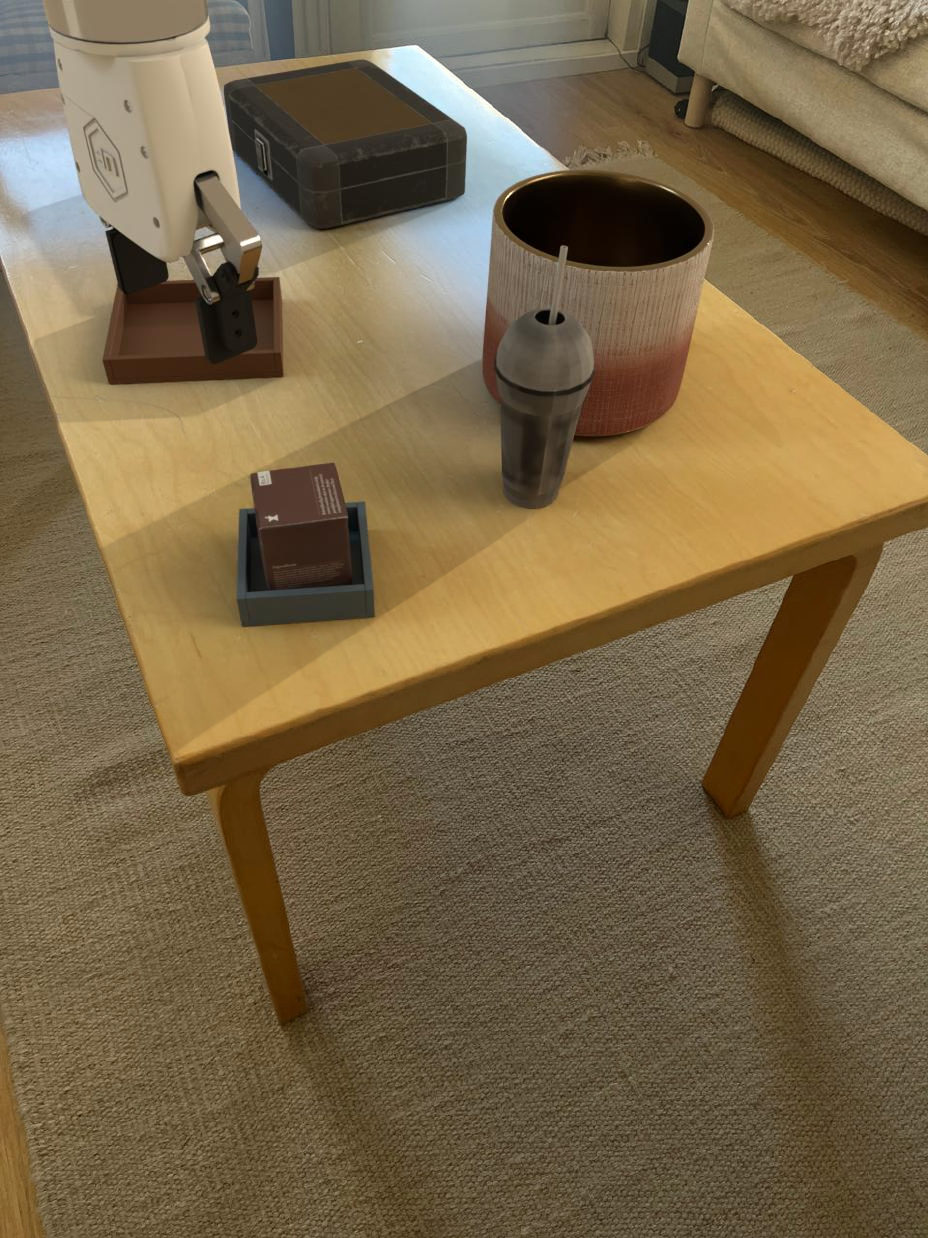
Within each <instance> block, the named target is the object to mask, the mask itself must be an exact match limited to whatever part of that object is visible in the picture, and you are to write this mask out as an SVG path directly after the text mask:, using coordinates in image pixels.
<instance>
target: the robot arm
mask: <svg viewBox="0 0 928 1238" xmlns="http://www.w3.org/2000/svg"><path fill="white" fill-rule="evenodd" d="M41 1H42V5H43V8H44V9H43V10H44V13H45V16H46V21H47V24H48V29H49V33H50V37H51V38H52V40H53V48H54V57H55V66H56V73H57V80H58V85H59V92H60V97H61V102H62V108H63V112H64V118H65V123H66V128H67V132H68V138H69V143H70V147H71V152H72V156H73V161H74V166H75V171H76V175H77V180H78V183H79V188H80V191H81V196H82V197H83V199H84V201H85V203H86V205H87V206H88V207H89V208H90V209H91V210H92V211H93V212H94V213H95V214H96V215H97V216H98V218H99V220H100V222H101V224H102V225H103V227H104V228H106V229H107V230H105V231H104V233H105V236H106V240H107V244H108V249H109V253H110V258H111V262H112V265H113V269H114V274H115V279H116V282H117V283H118V286H119V289H120V290H121V291H122V292H123V293H125V294H126V295H130V294H133V293H135V292H138V291H141V290H144V289H146V288H149V287H152V286H155V285H158V284H160V283H163V282H165V281H169V278H170V277H169V276H170V275H169V268H168V264H173V263H176V262H178V261H179V260H180V258H183V261H184V263H185V264H186V267H187V268H188V271H189V273H190V274H191V277H192V280H194V281H195V283H196V285H197V287H198V289H199V291H200V293H201V295H202V296H201V297H198V298H195V303H196V309H197V314H198V320H199V325H200V331H201V336H202V342H203V347H204V353H205V357H206V359H207V360H208V361H210V362H211V363H212V364H218V363H220V362H223V361H225V360H227V359H230V358H232V357H235V356H237V355H239V354H242V353H244V352H247V351H249V350H251V349H253V348H255V347H256V345H257V335H256V327H255V320H254V312H253V305H252V298H251V289H253V288H254V287H255V279H256V278H259V275H260V267H259V262H260V258H261V253H262V250H263V241H262V238H261V236H260V234H259V233H258V232H257V230H256V229H255V227H254V226H253V225H252V223H251V222H250V220H249V219H248V218H247V216H246V215H245V214H244V212H243V211H242V207H241V206H242V205H241V198H240V197H241V196H240V188H239V182H238V181H239V180H238V175H237V168H236V162H235V157H234V151H233V150H232V145H231V140H230V135H229V130H228V122H227V114H226V109H225V107H224V106H225V105H224V102H223V97H222V92H221V87H220V84H219V81H218V76H217V72H216V67H215V64H214V61H213V57H212V53H211V49H210V46H209V41H208V40H207V39H206V37H207V36H208V34H209V33H210V31H211V22H210V14H209V8H208V0H41ZM109 228H111V229H109ZM203 228H207V229H208V230H210V231H211V232H213V233H212V234H209V235H206V236H203V237H200V238H197V239H195V236H196V232H197V231H198V230H201V229H203ZM216 250H220V251H221V254H222V256H223V258H224V260H225V262H223V263H221V264H220V265H219V266H218V267H217V269H216V270H215V272H214V273H213V274H212V273H211V270H210V269H209V266H208V265H207V263H206V260H205V259H204V257H203V255H205V254H208V253H210V252H214V251H216Z"/></svg>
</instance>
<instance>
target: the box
mask: <svg viewBox="0 0 928 1238" xmlns="http://www.w3.org/2000/svg"><path fill="white" fill-rule="evenodd" d="M249 483H250V488H251V496H252V501H253V508H254V510H255V516H256V524H257V530H258V537H259V544H260V550H261V556H262V563H263V569H264V575H265V580H266V586H267V591H272V590H287V589H301V588H316V587H330V586H345V585H353V583H352V568H351V556H350V543H349V529H348V513H347V509H346V504H345V503H346V501H345V496H344V493H343V488H342V485H341V481H340V477H339V473H338V469H337V466H336V463H335V462H327V463H318V464H311V465H305V466H296V467H295V466H294V467H289V468H280V469H271V470H263V471H257V472H252V473H249Z"/></svg>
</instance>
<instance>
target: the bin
mask: <svg viewBox="0 0 928 1238" xmlns="http://www.w3.org/2000/svg"><path fill="white" fill-rule="evenodd" d="M345 504H346V509H347V513H348V529H349V543H350V556H351V568H352V583H353V585H345V586H330V587H316V588H301V589H287V590H272V591H267V586H266V580H265V575H264V569H263V563H262V556H261V550H260V544H259V537H258V530H257V524H256V516H255V510H254V507H248V508H246V507H245V508H239V509H238V533H237V534H238V537H237V539H238V540H237V568H236V569H237V576H236V604H237V609H238V613H239V618H240V624H241V627H256V626H269V625H284V624H296V623H297V624H298V623H312V622H324V621H338V620H351V619H367V618H375V617H376V615H375V614H376V612H375V610H376V609H375V608H376V607H375V590H374V589H375V587H374V578H373V569H372V558H371V549H370V539H369V529H368V528H369V527H368V519H367V507H366V502H365V501H348V502H345Z"/></svg>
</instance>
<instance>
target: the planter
mask: <svg viewBox="0 0 928 1238" xmlns="http://www.w3.org/2000/svg"><path fill="white" fill-rule="evenodd" d="M491 219H492V220H491V234H490V235H491V237H490V250H489V264H488V278H487V291H486V302H485V314H484V315H485V316H484V330H483V341H482V342H483V344H482V360H481V361H482V362H481V363H482V367H481V369H482V377H483V381H484V384H485V387H486V389H487V391H488V392H489V394H490V396H491V397H492V398H493V399H494V400H495V401H496V403H497V404H499V405H500V394H499V392H498V386H497V377H496V372H495V370H494V360H495V357H496V355H497V351H498V347H499V344H500V341H501V340H502V338H503V336H504V334H505V332H506V331H507V329H508V328H509V326H510V325H511V324H512V323H513V322H514V321H515V320H516V319H518V318H519V317H520V316H522V315H523V314H525V313H527V312H529V311H532V310H535V309H541V308H551V305H552V299H553V292H554V286H555V280H556V274H557V267H558V261H559V255H560V248H561V246H567V247H568V250H567V256H566V263H565V269H564V275H563V281H562V288H561V294H560V300H559V306H558V310H561V311H563V312H566V313H568V314H570V315H571V316H573V317H574V318H575V319H576V320H578V321H579V322H580V324H581V325H582V326H583V328H584V329H585V330H586V332H587V333H588V336H589V338H590V340H591V344H592V349H593V357H594V370H595V374H594V377H593V379H592V381H591V383H590V386H589V389H588V391H587V394H586V396H585V398H584V401H583V403H582V406H581V410H580V414H579V418H578V422H577V426H576V430H575V434H574V437H586V438H595V437H596V438H597V437H610V436H618V435H623V434H626V433H630V432H633V431H634V432H635V431H637V430H639V429H643V428H645V427H647V426H649V425H652V424H653V423H656V422H657V421H658V420H660V419H661V418H662V417H663V416H665V415H666V414H667V413H668V412H669V411H670V410H671V408H672V407H673V406H674V404H675V402H676V401H677V398H678V396H679V393H680V390H681V386H682V382H683V379H684V374H685V370H686V365H687V361H688V356H689V352H690V347H691V342H692V337H693V333H694V329H695V328H694V327H695V325H696V324H695V323H696V318H697V314H698V309H699V304H700V300H701V296H702V291H703V286H704V282H705V278H706V274H707V273H706V272H707V268H708V264H709V259H710V255H711V252H712V251H711V250H712V248H713V247H712V246H713V242H714V237H715V225H714V221H713V219H712V217H711V215H710V214H709V212H708V211H707V209H706V208H705V207H704V206H703V205H702V204H701V203H700V202H699V201H698V200H697V199H695V198H693V197H692V196H690V195H689V194H687V193H685V192H684V191H683V190H680V189H678V188H676V187H674V186H672V185H669V184H668V183H664V182H662V181H659V180H656V179H653V178H650V177H646V176H643V175H638V174H634V173H629V172H623V171H616V170H606V169H594V168H593V169H589V168H588V169H585V168H584V169H583V168H582V169H581V168H580V169H577V168H576V169H565V170H556V171H549V172H545V173H540V174H536V175H533V176H530V177H526V178H524V179H522V180H520V181H517V182H515V183H514V184H512V185H510V186H508V188H506V189H505V190H504V191H503V192H502V193H500V195H499V196H498V198H497V199H496V200H495V203H494V206H493V209H492V218H491Z"/></svg>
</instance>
